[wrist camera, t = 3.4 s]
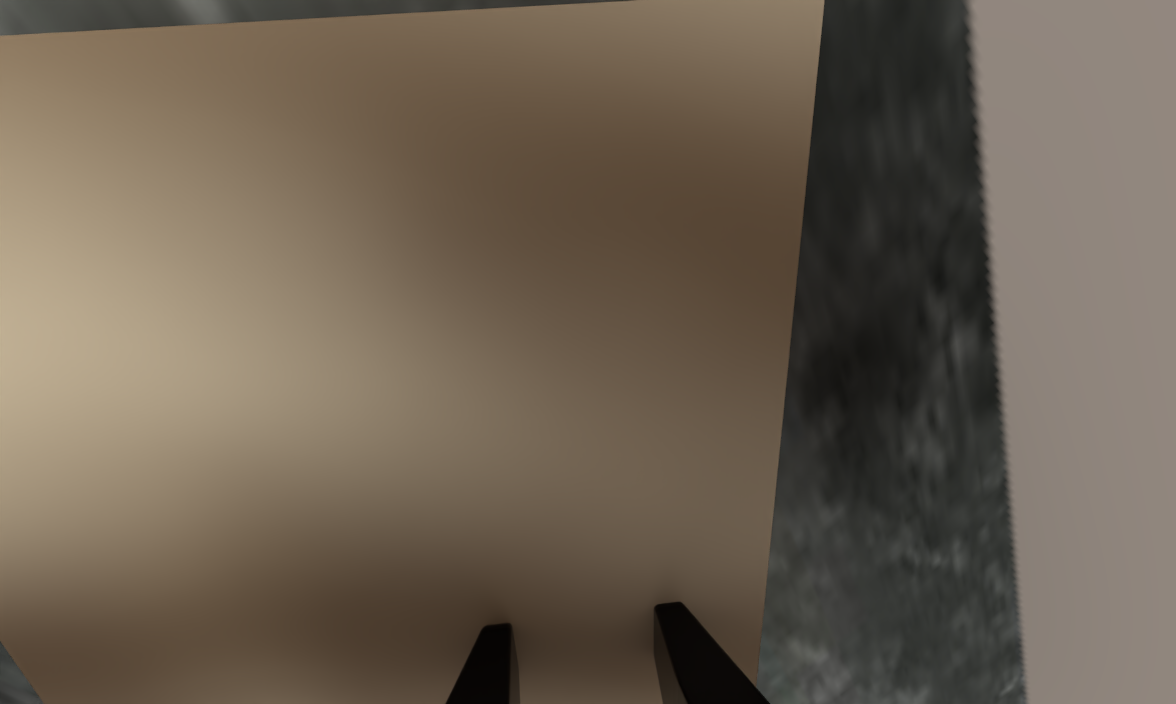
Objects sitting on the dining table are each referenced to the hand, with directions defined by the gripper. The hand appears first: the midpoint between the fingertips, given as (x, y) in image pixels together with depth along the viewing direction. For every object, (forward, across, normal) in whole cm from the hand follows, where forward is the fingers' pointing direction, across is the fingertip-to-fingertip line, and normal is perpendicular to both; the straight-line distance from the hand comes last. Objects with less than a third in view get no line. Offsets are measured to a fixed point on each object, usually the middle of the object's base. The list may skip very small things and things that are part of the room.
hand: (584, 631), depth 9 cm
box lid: (+1, +2, 0) cm, 2 cm away
